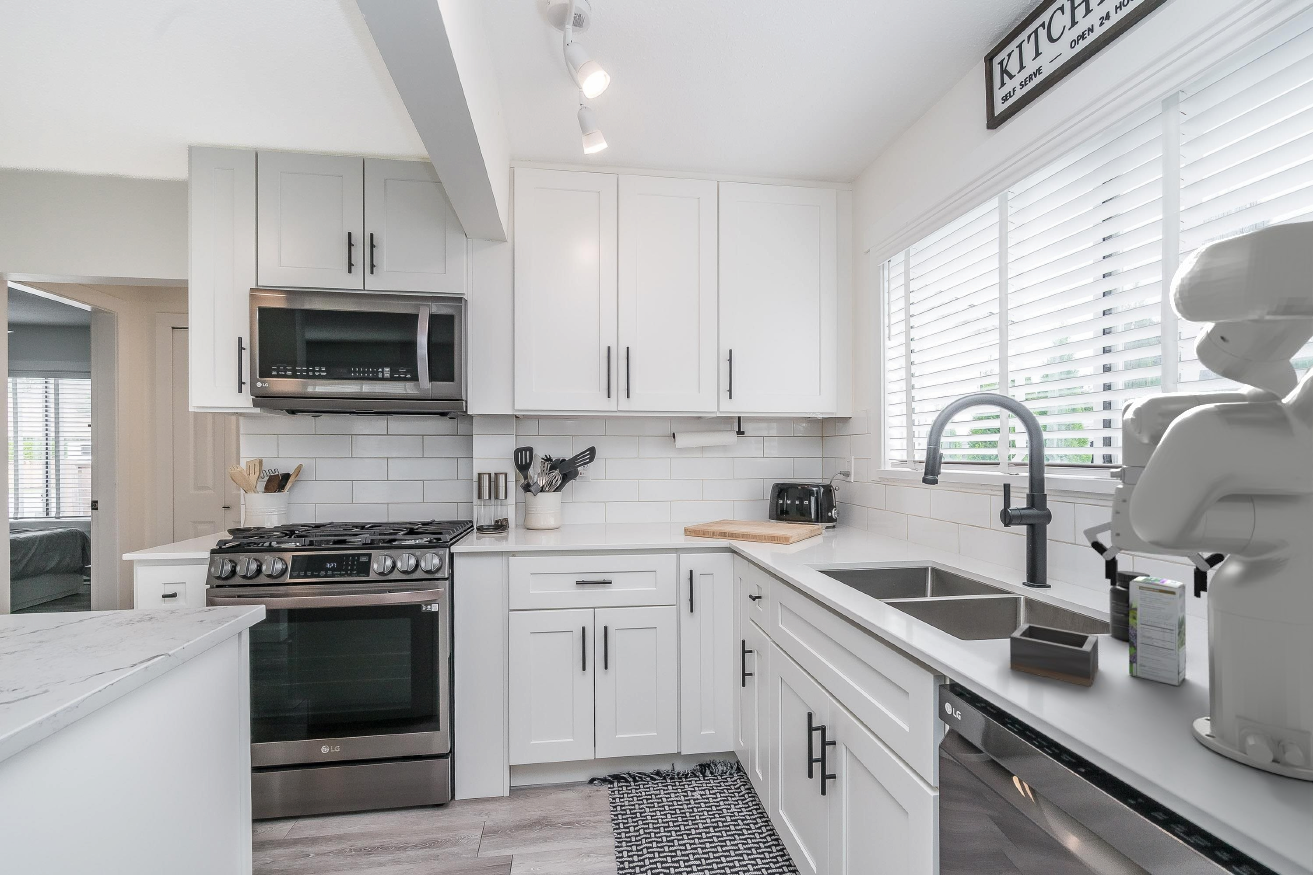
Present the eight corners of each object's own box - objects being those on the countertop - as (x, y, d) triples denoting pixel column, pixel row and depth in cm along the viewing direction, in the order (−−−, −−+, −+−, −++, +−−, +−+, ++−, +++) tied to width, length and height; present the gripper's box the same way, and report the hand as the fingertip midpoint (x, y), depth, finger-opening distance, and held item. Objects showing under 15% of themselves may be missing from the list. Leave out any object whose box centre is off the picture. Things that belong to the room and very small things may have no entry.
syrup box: (1137, 666, 90) (1135, 574, 91) (1187, 678, 86) (1185, 581, 86) (1128, 675, 87) (1127, 579, 87) (1181, 687, 82) (1178, 586, 82)
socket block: (1090, 686, 82) (1089, 651, 82) (1010, 668, 89) (1010, 636, 89) (1098, 667, 89) (1097, 635, 90) (1023, 652, 96) (1023, 622, 96)
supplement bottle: (1166, 646, 100) (1165, 578, 100) (1119, 642, 102) (1118, 575, 102) (1147, 635, 106) (1146, 570, 107) (1103, 631, 109) (1102, 568, 109)
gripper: (1080, 477, 90) (1080, 584, 90) (1235, 482, 79) (1236, 606, 79) (1086, 475, 96) (1087, 576, 96) (1232, 479, 84) (1232, 595, 84)
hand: (1154, 589), depth 87 cm, fingers open, 9 cm apart
